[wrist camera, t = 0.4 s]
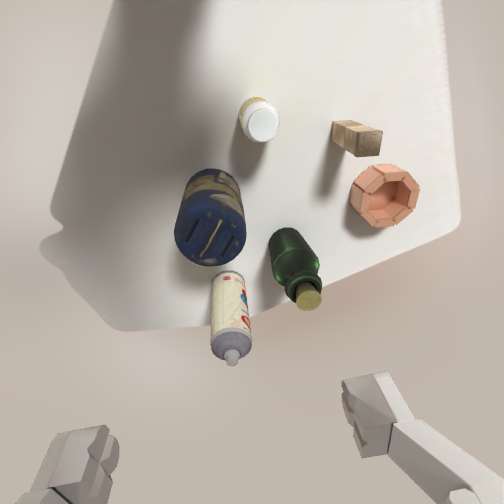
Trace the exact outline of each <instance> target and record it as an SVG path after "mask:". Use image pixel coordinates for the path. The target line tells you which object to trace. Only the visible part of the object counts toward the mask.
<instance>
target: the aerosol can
mask: <svg viewBox="0 0 504 504" xmlns="http://www.w3.org/2000/svg"><path fill="white" fill-rule="evenodd" d="M251 342H252V337H251V329H250V321H249V313H248V305H247V297H246V290H245V282H244V279H243V277H242V276H241V275H240V274H239V273H237V272H234V271H223V272H221V273H219V274H217V275H216V276H215V277H214V279H213V281H212V308H211V350H212V352H213V354H215V356H216V357H218V358H220V359H222V360H226V361H227V364H228V365H229V366H235V365H237V363H238V360H239V359H240V358H242V357H245V356H246V355H247V354H248V353H249V352H250V350H251V346H252V344H251Z"/></svg>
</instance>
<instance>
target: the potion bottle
mask: <svg viewBox="0 0 504 504" xmlns="http://www.w3.org/2000/svg"><path fill="white" fill-rule="evenodd" d="M269 248H270V256H271V264H272V272H273V275H274V278H275V280H276V281H277V282H278V283H279V284H281V285H283V286H285V292H286V295H287V296H288V297H289V298H290V299H291V300H292V301H293V302H295V303H296V304H297V307H298V308H299V309H301V310H304V311H310V310H313V309H315V308H317V307H318V306H319V305H320V303H321V301H322V298H321V295H320V294H321V290H322V282H321V278H320V277H319V276H318V275H317V273H318V270H319V260H318V257H317V256H316V254H315V253H314V252H313V250H312V249H311V248H310V246H309V245H308V244H307V242H306V241H305V240H304V238H303V237H302V236H301V234H300V233H299V232H298V231H297V230H295V229H293V228H282V229H279V230H277V231H276V232H275V233H273V235H272V237H271V238H270V242H269Z"/></svg>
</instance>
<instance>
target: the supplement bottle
mask: <svg viewBox="0 0 504 504" xmlns="http://www.w3.org/2000/svg"><path fill="white" fill-rule="evenodd" d="M239 121H240V124H241V127H242V129H243V132H244V133H245V135H246V136H247V137H248V138H249V139H250V140H252V141H254V142H257V143H263V142H267V141H269V140H271V139H272V138H273V137H274V136H275V135H276V133H277V132H278V129H279V126H280V117H279V114H278V111H277V110H276V108H275V107H274V106H273V105H272V104H270V103H269V102H267V101H266V100H265V99H263V98H260V97H253V98H250V99H248V100H246V101H245V102H244V103H243V104H242V106H241V108H240V111H239Z"/></svg>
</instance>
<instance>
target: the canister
mask: <svg viewBox="0 0 504 504" xmlns="http://www.w3.org/2000/svg"><path fill="white" fill-rule="evenodd" d="M174 236H175V241H176V244H177V246H178V248H179V250H180V251H181V253H182V254H183V255H184V256H185V257H186V258H188V259H189V260H190V261H192V262H194V263H196V264H199V265H203V266H220V265H223V264H226V263H228V262H230V261H232V260H233V259H234V258H236V256H237V255H238V254H239V253H240V252H241V250H242V249H243V247H244V245H245V241H246V224H245V217H244V210H243V205H242V200H241V194H240V189H239V187H238V184H237V182H236V181H235V180H234V179H233V177H232V176H230V175H229V174H228V173H226V172H224V171H222V170H219V169H205V170H202V171H200V172H198V173H196V174H195V175H194V176H192V178H191V179H190V180H189V182H188V183H187V186H186V188H185V192H184V195H183V198H182V202H181V206H180V210H179V213H178V216H177V220H176V224H175V229H174Z"/></svg>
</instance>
